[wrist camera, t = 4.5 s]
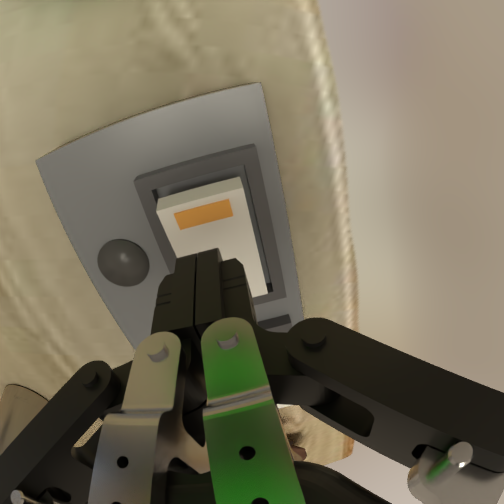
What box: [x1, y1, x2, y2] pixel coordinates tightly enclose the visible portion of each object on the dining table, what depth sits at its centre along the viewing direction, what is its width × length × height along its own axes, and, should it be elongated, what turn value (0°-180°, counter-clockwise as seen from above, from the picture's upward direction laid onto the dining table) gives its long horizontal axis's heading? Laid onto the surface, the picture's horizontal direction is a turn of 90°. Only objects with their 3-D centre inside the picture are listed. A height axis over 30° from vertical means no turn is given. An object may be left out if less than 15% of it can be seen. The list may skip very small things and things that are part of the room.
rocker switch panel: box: [36, 82, 304, 351], centre depth 24 cm, size 30×14×4 cm, turn 12°
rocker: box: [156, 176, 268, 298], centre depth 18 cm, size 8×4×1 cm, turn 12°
